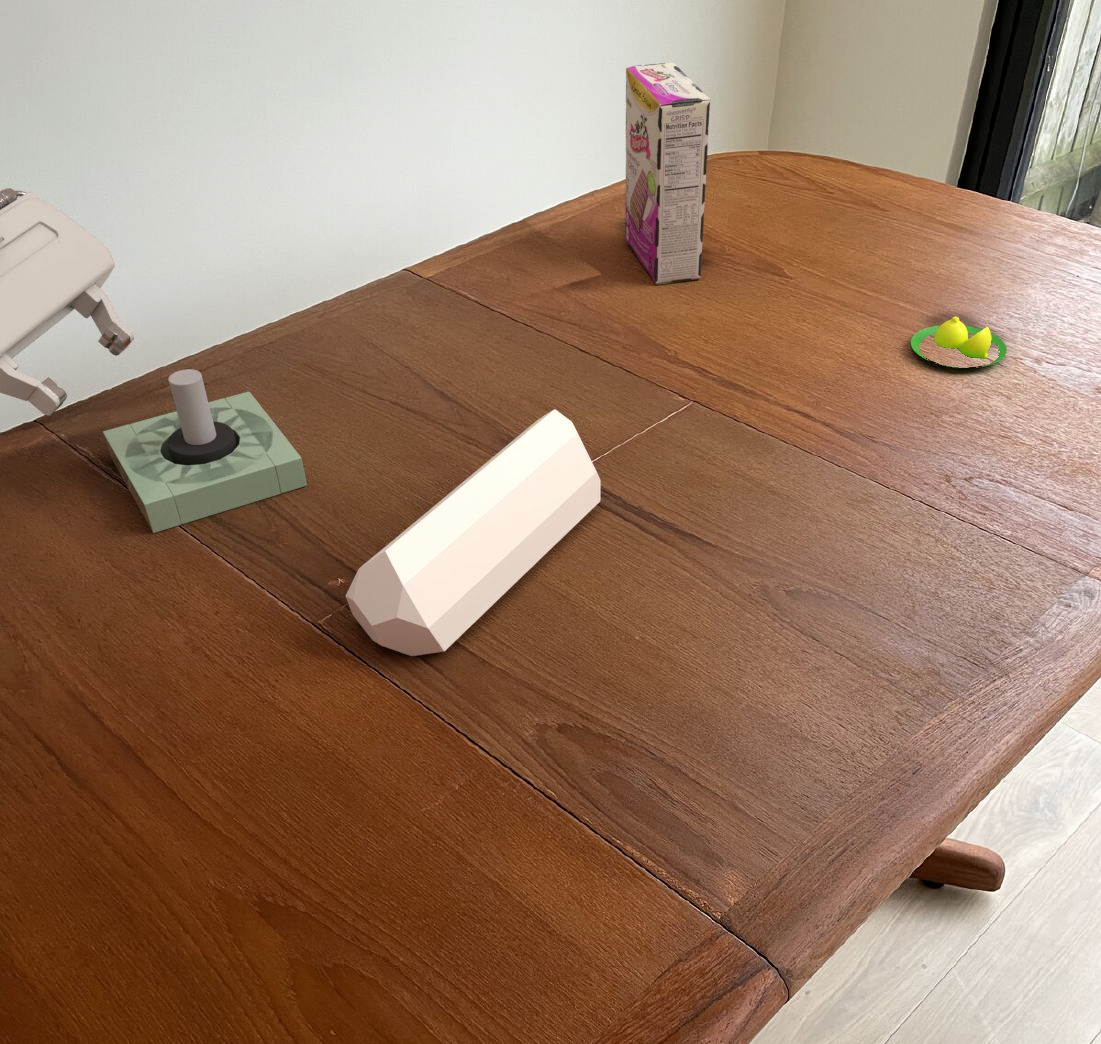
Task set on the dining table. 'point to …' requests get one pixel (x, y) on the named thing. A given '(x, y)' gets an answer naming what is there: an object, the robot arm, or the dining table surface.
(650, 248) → the candy bar box
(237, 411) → the sink plate
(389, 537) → the dining table surface
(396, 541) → the crystal
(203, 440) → the stopper
